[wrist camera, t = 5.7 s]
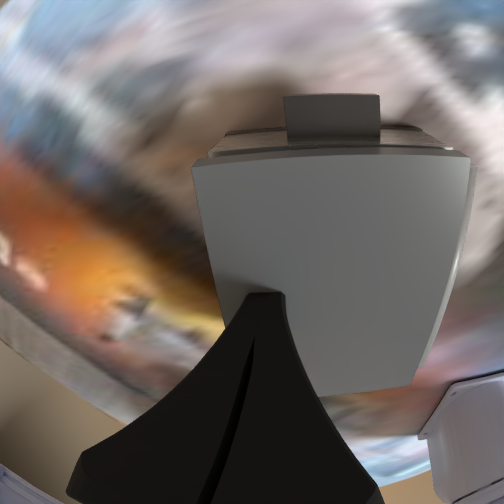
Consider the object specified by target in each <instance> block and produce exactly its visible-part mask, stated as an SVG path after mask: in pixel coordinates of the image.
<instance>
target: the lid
mask: <svg viewBox="0 0 504 504" xmlns="http://www.w3.org/2000/svg"><path fill="white" fill-rule="evenodd" d="M470 161H471V158H470V157H469V156H467V155H465V154H463V153H461V152H460V151H458V150H447V149H428V148H394V147H357V148H322V149H302V150H286V151H272V152H260V153H250V154H240V155H230V156H221V157H213V158H205V159H198V160H197V161H196V162H195V164H194V165H193V166H192V167H191V170H192V176H193V181H194V186H195V191H196V197H197V202H198V207H199V212H200V217H201V222H202V226H203V231H204V236H205V241H206V245H207V250H208V255H209V259H210V264H211V268H212V273H213V277H214V282H215V286H216V291H217V295H218V299H219V304H220V308H221V312H222V316H223V321H224V325H225V328H226V327H227V326H228V324H229V323H230V321H231V320H232V318H233V317H234V315H235V314H236V312H237V310H238V309H239V307H240V306H241V304H242V302H243V300H244V299H245V297H246V295H248V294H249V293H259V292H282V293H283V294H285V296H286V313H287V318H288V323H289V326H290V330H291V333H292V336H293V339H294V343H295V346H296V349H297V351H298V354H299V357H300V359H301V361H302V364H303V366H304V369H305V371H306V373H307V376H308V378H309V380H310V382H311V384H312V386H313V388H314V390H315V392H316V394H317V396H318V397H323V396H334V395H344V394H353V393H362V392H370V391H377V390H384V389H390V388H396V387H402V386H408V385H410V384H411V382H412V380H413V377H414V375H415V373H416V370H417V368H420V367H422V366H424V364H425V362H426V359H427V357H428V355H429V352H430V350H431V347H432V345H433V342H434V340H435V337H436V335H437V332H438V329H439V327H440V324H441V321H442V318H443V315H444V312H445V309H446V306H447V303H448V300H449V297H450V294H451V291H452V288H453V284H454V281H455V277H456V274H457V270H458V266H459V263H460V259H461V255H462V251H463V246H464V242H465V238H466V233H467V228H468V224H469V218H470V213H471V208H472V202H473V195H474V189H475V182H476V174H477V167H476V166H475V165H472V164H470Z"/></svg>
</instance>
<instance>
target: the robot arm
mask: <svg viewBox="0 0 504 504" xmlns="http://www.w3.org/2000/svg"><path fill="white" fill-rule="evenodd" d="M417 437H418V440H424V439H427V444H428V450H429V456H430V463H431V470H432V477H433V486H434V490H435V493H436V495H437V496H438V497H439V499H441V500H442V501H443V502H444V503H446V504H504V372H503V373H499V374H495V375H491V376H487V377H482V378H478V379H473V380H468V381H464V382H458V383H455V384H453V385H451V386H450V388H449V389H448V391H447V393H446V394H445V396H444V398H443V399H442V401H441V402H440V404H439V405H438V407H437V409H436V410H435V412H434V413H433V415H432V416H431V418H430V419H429V421H428V422H427V423H426V425H425V426H424V428H423V429H422V431H421V432H420V433H419V435H418V436H417ZM66 494H67V495H68V496H69V497H71V498H73V499H75V500H77V501H78V502H80V503H82V504H385V503H384V500H383V498H382V495H381V493H380V490H379V488H378V485H377V484H376V482H375V481H374V480H373V479H372V477H371V476H370V475H369V474H368V473H367V471H366V470H365V469H364V467H363V466H362V465H361V464H360V462H359V461H358V460H357V458H356V457H355V456H354V454H353V453H352V451H351V450H350V448H349V447H348V446H347V444H346V443H345V441H344V440H343V438H342V437H341V435H340V434H339V432H338V430H337V429H336V427H335V426H334V424H333V422H332V421H331V419H330V417H329V416H328V414H327V413H326V411H325V409H324V407H323V405H322V404H321V402H320V400H319V398H318V396H317V394H316V392H315V390H314V388H313V386H312V384H311V382H310V380H309V378H308V376H307V373H306V371H305V369H304V366H303V364H302V361H301V359H300V357H299V354H298V351H297V349H296V346H295V343H294V339H293V336H292V333H291V330H290V326H289V323H288V318H287V313H286V296H285V294H283V293H282V292H259V293H249V294H248V295H246V297H245V299H244V300H243V302H242V304H241V306H240V307H239V309H238V310H237V312H236V314H235V315H234V317H233V318H232V320H231V321H230V323H229V324H228V326H227V327H226V328H225V330H224V331H223V333H222V334H221V335H220V337H219V338H218V339H217V341H216V342H215V343H214V345H213V346H212V347H211V348H210V350H209V351H208V352H207V353H206V354H205V356H204V357H203V358H202V359H201V361H200V362H199V363H198V364H197V365H196V366H195V367H194V369H193V370H192V371H191V372H190V373H189V374H188V375H187V376H186V377H185V378H184V379H183V380H182V381H181V382H180V383H179V384H178V385H177V386H176V387H175V388H174V389H173V390H172V391H170V392H169V393H168V394H167V395H166V396H165V397H164V398H163V399H162V400H160V401H159V402H158V403H157V404H156V405H154V406H153V407H152V408H151V409H149V410H148V411H147V412H146V413H144V414H143V415H141V416H140V417H139V418H137V419H136V420H134V421H133V422H132V423H130V424H129V425H127V426H126V427H125V428H123V429H122V430H120V431H118V432H117V433H115V434H114V435H112V436H110V437H108V438H107V439H105V440H103V441H101V442H100V443H98V444H96V445H94V446H92V447H91V448H89V449H87V450H85V451H83V452H82V453H81V455H80V457H79V459H78V461H77V463H76V466H75V468H74V471H73V473H72V476H71V479H70V481H69V484H68V486H67V489H66ZM0 504H64V503H62V502H60V501H58V500H56V499H54V498H53V497H51V496H49V495H47V494H45V493H44V492H42V491H40V490H39V489H37V488H35V487H34V486H32V485H30V483H28V482H27V481H25V480H24V479H22V478H21V477H19V476H18V475H16V474H14V473H13V472H12V471H10V470H9V469H7V468H6V467H5V466H3V465H1V464H0Z"/></svg>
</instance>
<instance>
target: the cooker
mask: <svg viewBox="0 0 504 504" xmlns="http://www.w3.org/2000/svg"><path fill="white" fill-rule="evenodd" d="M283 100H284V109H285V120H286V127H279V128H265V129H253V130H242V131H233V132H227V133H226V134H225V137H224V138H223V139H222V140H221V141H220V142H219V143H218V144H217V145H215V146H214V147H213V148H212V149H211V150H210V151H209V152H208V157H209V158H213V157H221V156H230V155H240V154H250V153H260V152H272V151H286V150H302V149H322V148H357V147H394V148H428V149H447V150H453V148H452V147H450V146H449V145H447V144H445V143H443V142H441V141H440V140H438V139H436V138H434V137H432V136H430V135H428V134H427V133H425V132H423V130H422V129H420V128H418V127H402V126H380V97H379V95H376V94H359V93H323V94H296V95H284V96H283Z"/></svg>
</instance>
